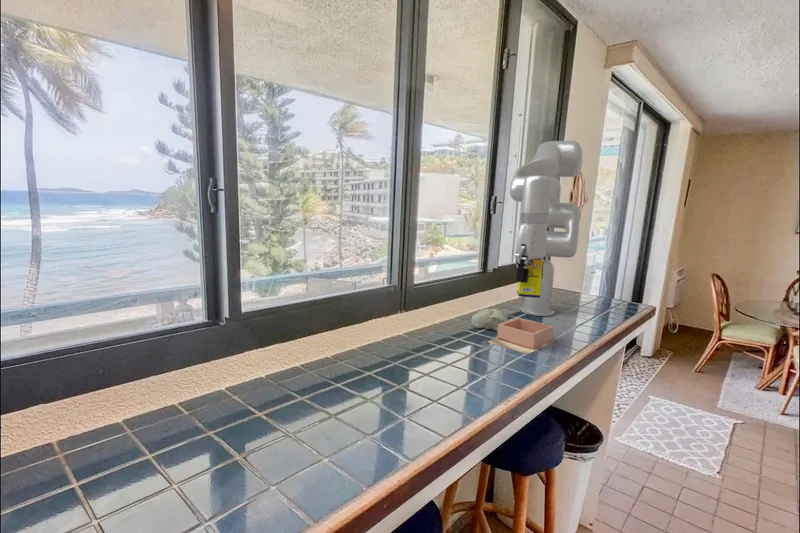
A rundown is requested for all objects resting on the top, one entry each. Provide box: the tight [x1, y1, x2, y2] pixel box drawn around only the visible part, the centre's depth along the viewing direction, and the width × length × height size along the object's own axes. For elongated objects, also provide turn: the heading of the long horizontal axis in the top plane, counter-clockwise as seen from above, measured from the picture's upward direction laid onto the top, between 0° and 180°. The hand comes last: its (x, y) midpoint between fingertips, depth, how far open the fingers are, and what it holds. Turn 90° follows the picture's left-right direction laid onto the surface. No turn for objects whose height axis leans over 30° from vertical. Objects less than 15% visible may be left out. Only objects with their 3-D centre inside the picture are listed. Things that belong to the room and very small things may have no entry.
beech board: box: [487, 337, 555, 355], centre depth 120 cm, size 16×13×1 cm
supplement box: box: [516, 259, 543, 298], centre depth 118 cm, size 6×6×11 cm
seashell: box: [470, 308, 509, 332], centre depth 133 cm, size 13×8×10 cm
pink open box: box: [496, 317, 554, 350], centre depth 121 cm, size 12×12×4 cm
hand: (529, 279), depth 119 cm, fingers closed on supplement box, 8 cm apart
